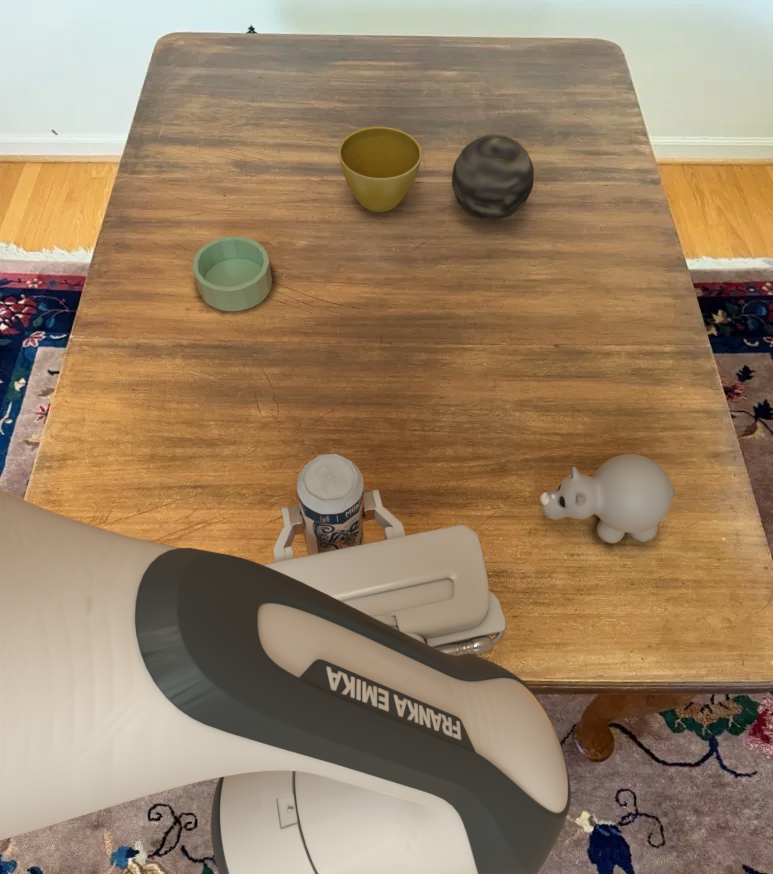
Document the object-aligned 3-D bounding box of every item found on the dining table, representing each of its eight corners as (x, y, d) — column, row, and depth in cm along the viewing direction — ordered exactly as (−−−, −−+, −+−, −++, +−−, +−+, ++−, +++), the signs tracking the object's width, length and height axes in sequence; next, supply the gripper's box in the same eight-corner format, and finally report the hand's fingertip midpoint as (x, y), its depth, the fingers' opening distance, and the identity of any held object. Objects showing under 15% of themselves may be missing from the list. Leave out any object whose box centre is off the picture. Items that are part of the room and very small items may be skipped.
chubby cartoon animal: (525, 485, 74) (542, 440, 67) (645, 484, 74) (674, 438, 67) (535, 552, 70) (553, 512, 63) (661, 550, 70) (693, 510, 63)
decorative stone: (539, 227, 94) (555, 160, 85) (466, 245, 92) (475, 178, 83) (506, 178, 99) (519, 110, 90) (436, 193, 97) (443, 125, 88)
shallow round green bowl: (202, 316, 85) (196, 295, 82) (195, 263, 89) (189, 241, 86) (277, 304, 86) (273, 283, 83) (266, 253, 91) (263, 231, 88)
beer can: (330, 585, 61) (324, 520, 50) (295, 544, 62) (281, 474, 52) (375, 550, 62) (377, 480, 52) (339, 511, 64) (334, 436, 54)
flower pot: (403, 167, 100) (405, 119, 94) (429, 216, 95) (433, 169, 88) (331, 182, 98) (328, 134, 92) (354, 233, 93) (352, 186, 87)
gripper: (522, 632, 49) (463, 456, 56) (209, 703, 46) (189, 508, 53) (506, 659, 54) (454, 495, 61) (225, 724, 51) (205, 544, 59)
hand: (329, 501), depth 57 cm, fingers closed on beer can, 5 cm apart
